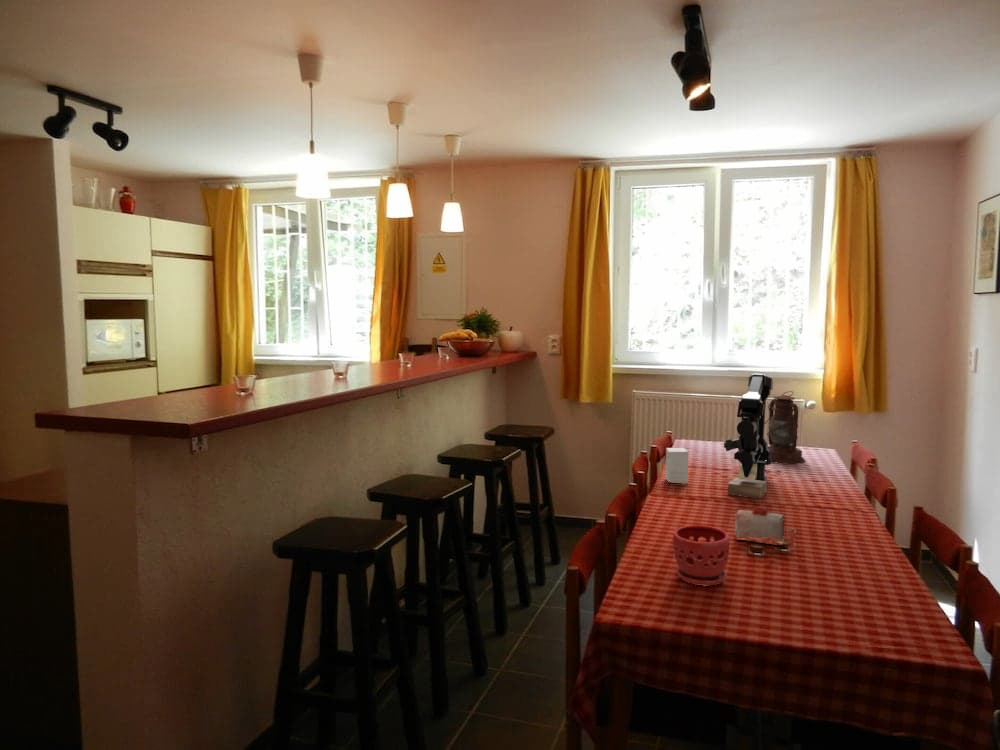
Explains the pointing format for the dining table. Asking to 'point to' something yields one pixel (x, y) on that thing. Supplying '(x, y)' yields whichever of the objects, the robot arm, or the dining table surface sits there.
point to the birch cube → (751, 476)
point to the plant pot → (701, 554)
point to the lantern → (783, 431)
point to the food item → (759, 524)
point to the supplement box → (677, 465)
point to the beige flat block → (747, 487)
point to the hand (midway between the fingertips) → (747, 475)
